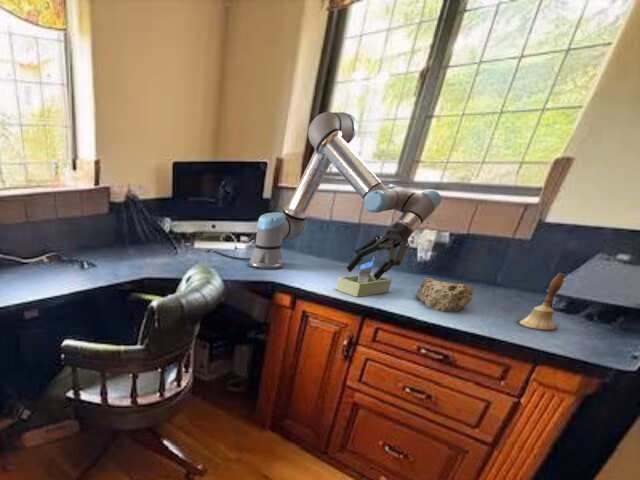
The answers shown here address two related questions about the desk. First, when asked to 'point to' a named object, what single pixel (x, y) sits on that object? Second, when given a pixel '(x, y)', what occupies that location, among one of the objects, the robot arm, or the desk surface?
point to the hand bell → (544, 308)
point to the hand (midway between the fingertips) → (361, 273)
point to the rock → (444, 294)
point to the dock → (363, 285)
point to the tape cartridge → (365, 272)
